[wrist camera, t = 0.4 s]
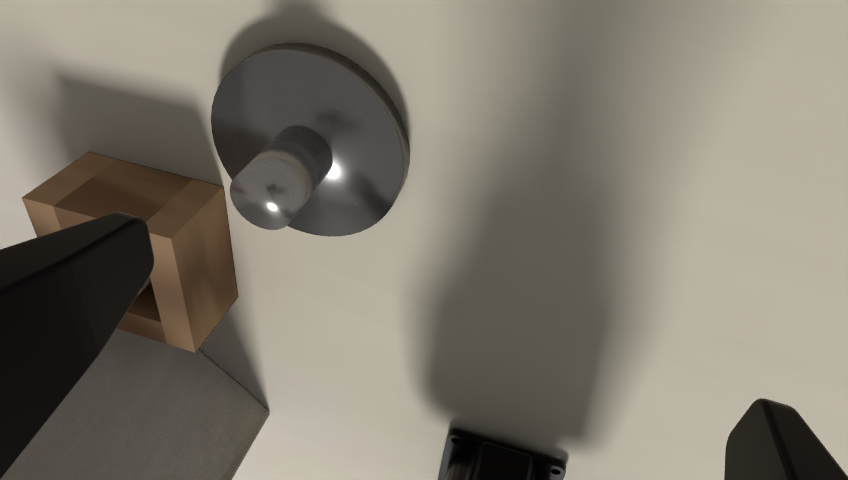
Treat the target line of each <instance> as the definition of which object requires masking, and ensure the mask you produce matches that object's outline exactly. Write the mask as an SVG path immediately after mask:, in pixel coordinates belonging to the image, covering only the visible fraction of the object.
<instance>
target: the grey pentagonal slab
mask: <svg viewBox="0 0 848 480" xmlns="http://www.w3.org/2000/svg"><path fill="white" fill-rule="evenodd" d="M268 416H269V411H268V409H267V408H266V407H265V406H263V405H262V404H261V403H260V402H259V401H258V400H257V399H256V398H255V397H254V396H252V395H251V394H250V393H249V392H248V391H247V390H246V389H245V388H244V387H243V386H242V385H240V384H239V383H238V382H237V381H236V380H235V379H233V378H232V377H231V376H230V375H229V374H227V373H226V372H225V371H224V370H223V369H222V368H220V367H219V366H218V365H217V364H216V363H214V362H213V361H212V360H211V359H210V358H208V357H207V356H206V355H205V354H204V353H202V352H201V351H200V350H199V349H198V350H197V351H196V353H194V352H191V351H188V350H184V349H181V348H178V347H175V346H171V345H168V344H165V343H162V342H158V341H155V340H152V339H149V338H145V337H142V336H139V335H135V334H132V333H129V332H126V331H122V330H119V329H116V330H115V331H114V333H113V334H112V336H111V338H110V339H109V341H108V342H107V344H106V345H105V347H104V348H103V349H102V351H101V352H100V354H99V355H98V357H97V358H96V359H95V361H94V362H93V363H92V365H91V366H90V367H89V368H88V370H87V371H86V372H85V373H84V375H83V376H82V377H81V378H80V380H79V381H78V382H77V384H76V385H75V386H74V387H73V389H72V390H71V391H70V392H69V394H68V395H67V396H66V397H65V399H64V400H63V401H62V402H61V404H60V405H59V406H58V407H57V409H56V410H55V411H54V413H53V414H52V415H51V416H50V418H49V419H48V420H47V421H46V423H45V424H44V425H43V426H42V428H41V429H40V430H39V431H38V433H37V434H36V435H35V436H34V438H33V439H32V440H31V442H30V443H29V444H28V445H27V447H26V448H25V449H24V450H23V452H22V453H21V454H20V455H19V457H18V458H17V459H16V460H15V462H14V463H13V464H12V466H11V467H10V468H9V469H8V471H7V472H6V473H5V474H4V476H3V477H2V478H1V479H0V480H232V478H233V476H234V475H235V473H236V471H237V470H238V468H239V466H240V464H241V463H242V461H243V459H244V457H245V456H246V454H247V452H248V450H249V449H250V447H251V445H252V443H253V442H254V440H255V438H256V436H257V435H258V433H259V431H260V430H261V428H262V426H263V425H264V423H265V421H266V420H267V418H268Z"/></svg>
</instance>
